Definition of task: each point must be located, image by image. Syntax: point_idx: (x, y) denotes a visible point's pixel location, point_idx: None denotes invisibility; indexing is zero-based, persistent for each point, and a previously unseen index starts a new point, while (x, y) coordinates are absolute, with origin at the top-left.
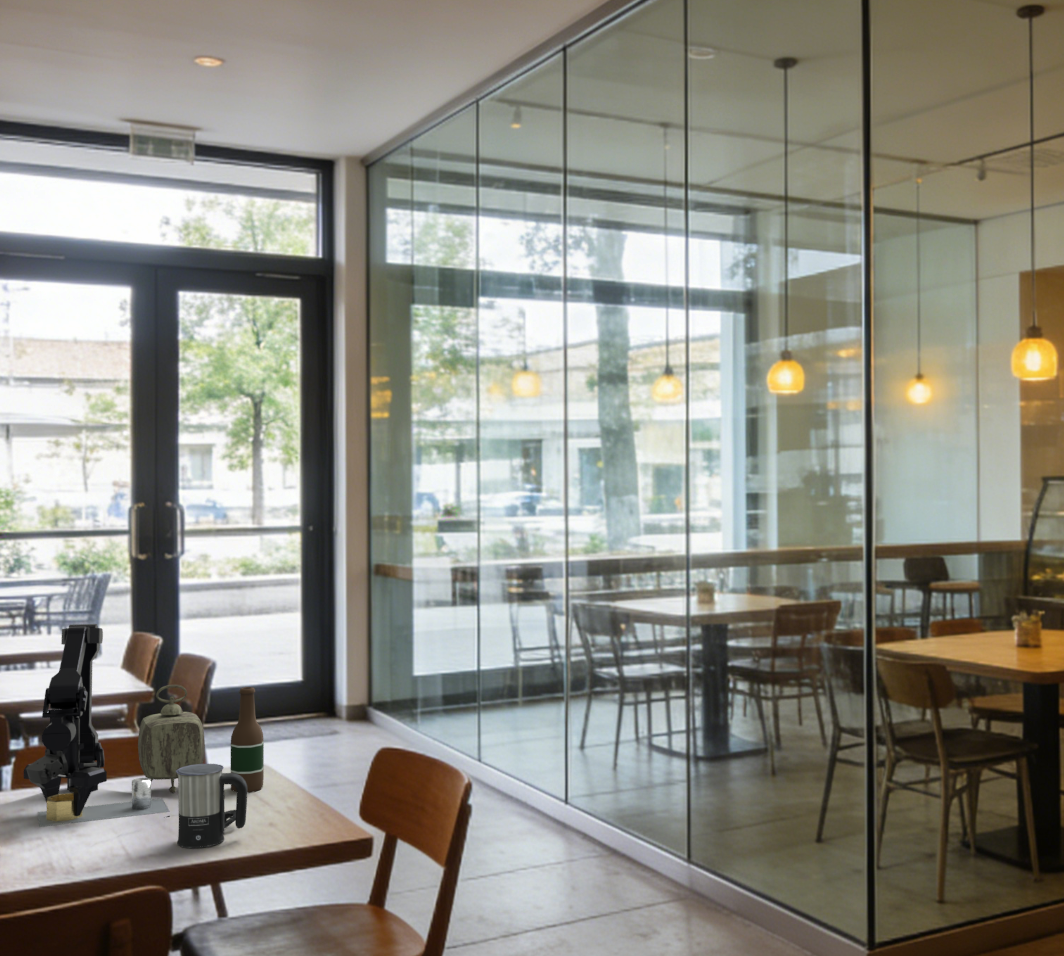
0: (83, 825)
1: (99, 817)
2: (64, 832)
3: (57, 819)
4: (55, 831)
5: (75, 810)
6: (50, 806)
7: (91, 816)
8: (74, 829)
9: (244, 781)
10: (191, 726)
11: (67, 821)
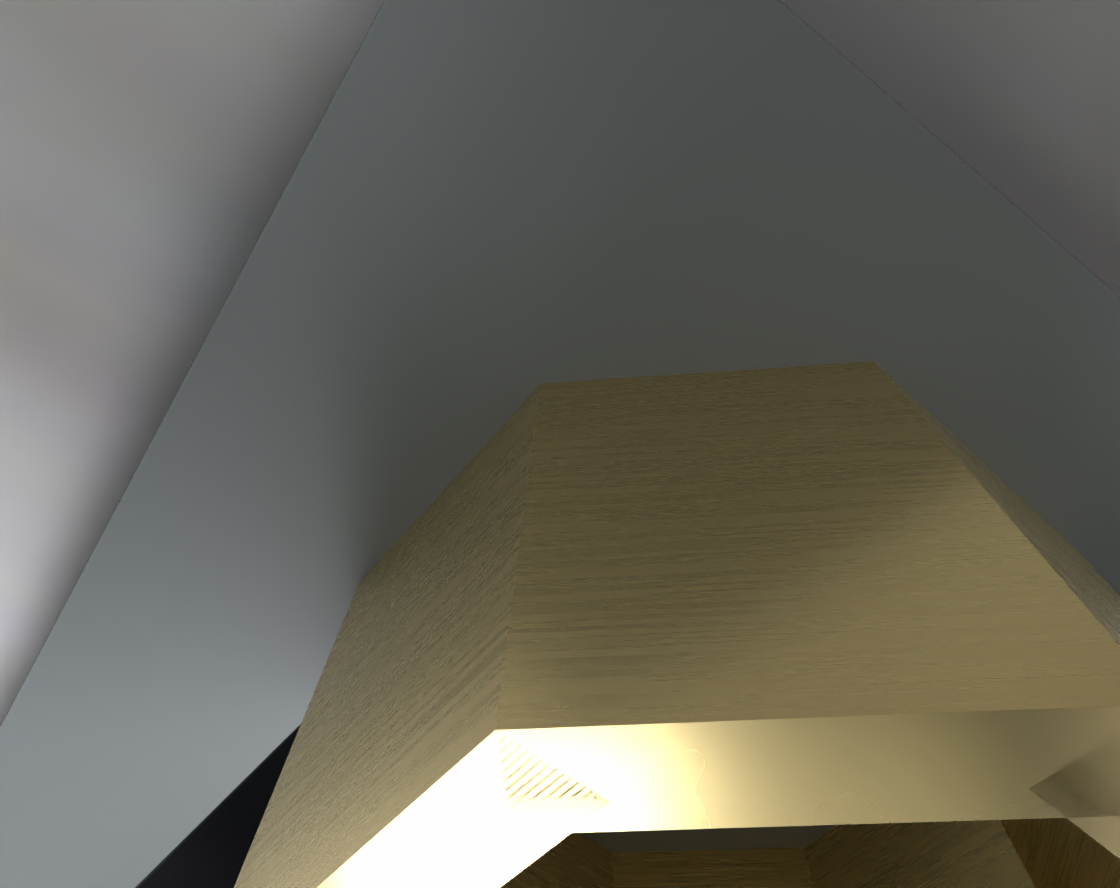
0: None
1: (103, 844)
2: (64, 171)
3: (526, 415)
4: (290, 120)
5: (270, 783)
6: (833, 566)
7: None
8: (122, 404)
9: None
10: None
11: (320, 483)
